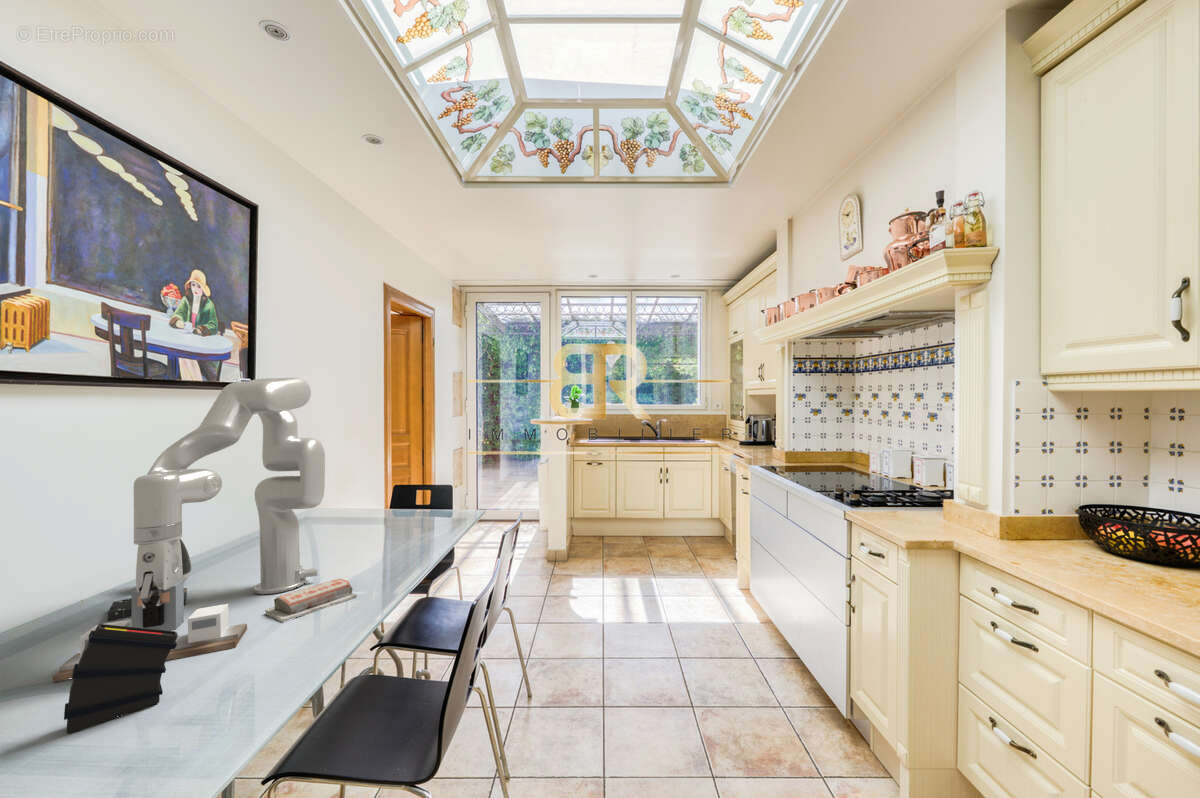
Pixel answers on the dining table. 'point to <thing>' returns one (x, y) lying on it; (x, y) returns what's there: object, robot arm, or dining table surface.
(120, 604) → the disk drive
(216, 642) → the rail board
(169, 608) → the block
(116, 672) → the black ridged block
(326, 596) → the packaged product
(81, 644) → the block
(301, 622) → the dining table surface
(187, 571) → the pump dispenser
